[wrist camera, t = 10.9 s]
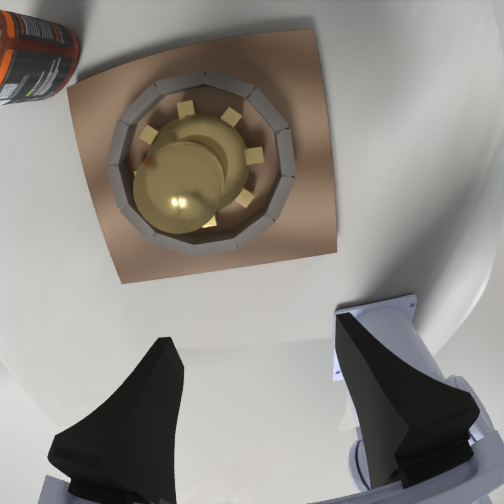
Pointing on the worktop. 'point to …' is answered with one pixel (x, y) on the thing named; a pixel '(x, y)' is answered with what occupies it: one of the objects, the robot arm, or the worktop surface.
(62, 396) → the worktop surface
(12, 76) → the supplement bottle
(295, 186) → the collar board
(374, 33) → the worktop surface
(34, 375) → the worktop surface
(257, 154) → the planet gear
